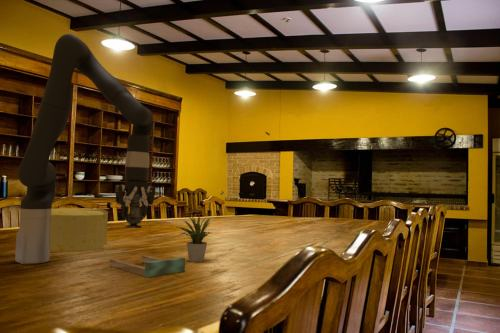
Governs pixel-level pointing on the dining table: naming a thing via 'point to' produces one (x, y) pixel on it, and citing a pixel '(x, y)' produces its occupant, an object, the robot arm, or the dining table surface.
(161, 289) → the dining table surface
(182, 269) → the guide channel
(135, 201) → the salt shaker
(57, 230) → the cheese
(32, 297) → the dining table surface
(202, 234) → the house plant
